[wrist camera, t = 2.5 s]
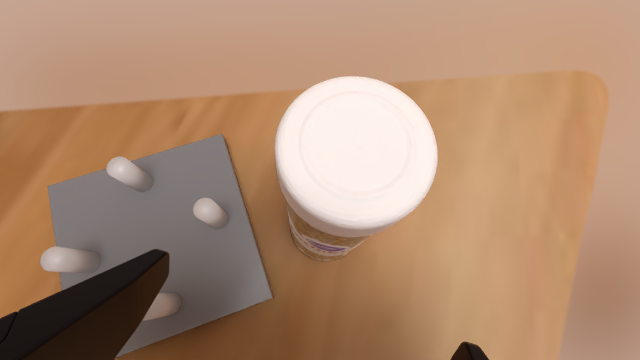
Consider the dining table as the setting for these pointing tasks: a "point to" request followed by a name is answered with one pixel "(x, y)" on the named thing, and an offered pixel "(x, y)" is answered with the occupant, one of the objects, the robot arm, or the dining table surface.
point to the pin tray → (163, 234)
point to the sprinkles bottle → (351, 163)
